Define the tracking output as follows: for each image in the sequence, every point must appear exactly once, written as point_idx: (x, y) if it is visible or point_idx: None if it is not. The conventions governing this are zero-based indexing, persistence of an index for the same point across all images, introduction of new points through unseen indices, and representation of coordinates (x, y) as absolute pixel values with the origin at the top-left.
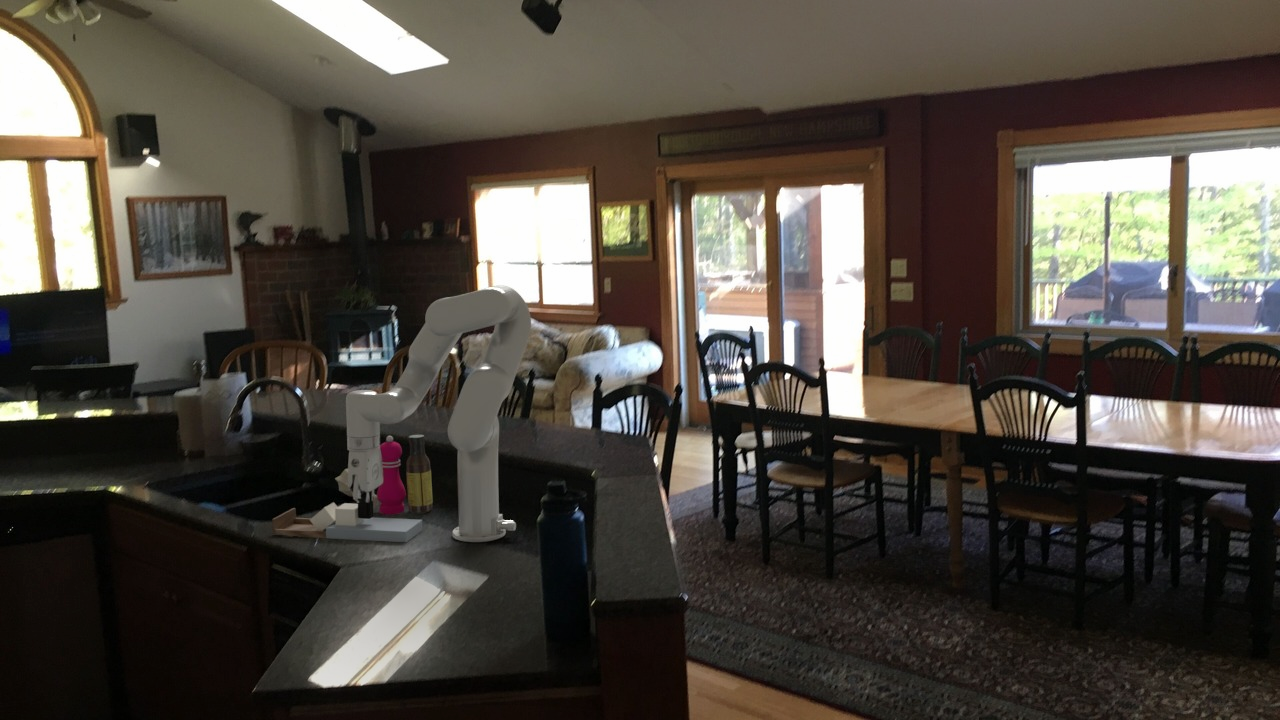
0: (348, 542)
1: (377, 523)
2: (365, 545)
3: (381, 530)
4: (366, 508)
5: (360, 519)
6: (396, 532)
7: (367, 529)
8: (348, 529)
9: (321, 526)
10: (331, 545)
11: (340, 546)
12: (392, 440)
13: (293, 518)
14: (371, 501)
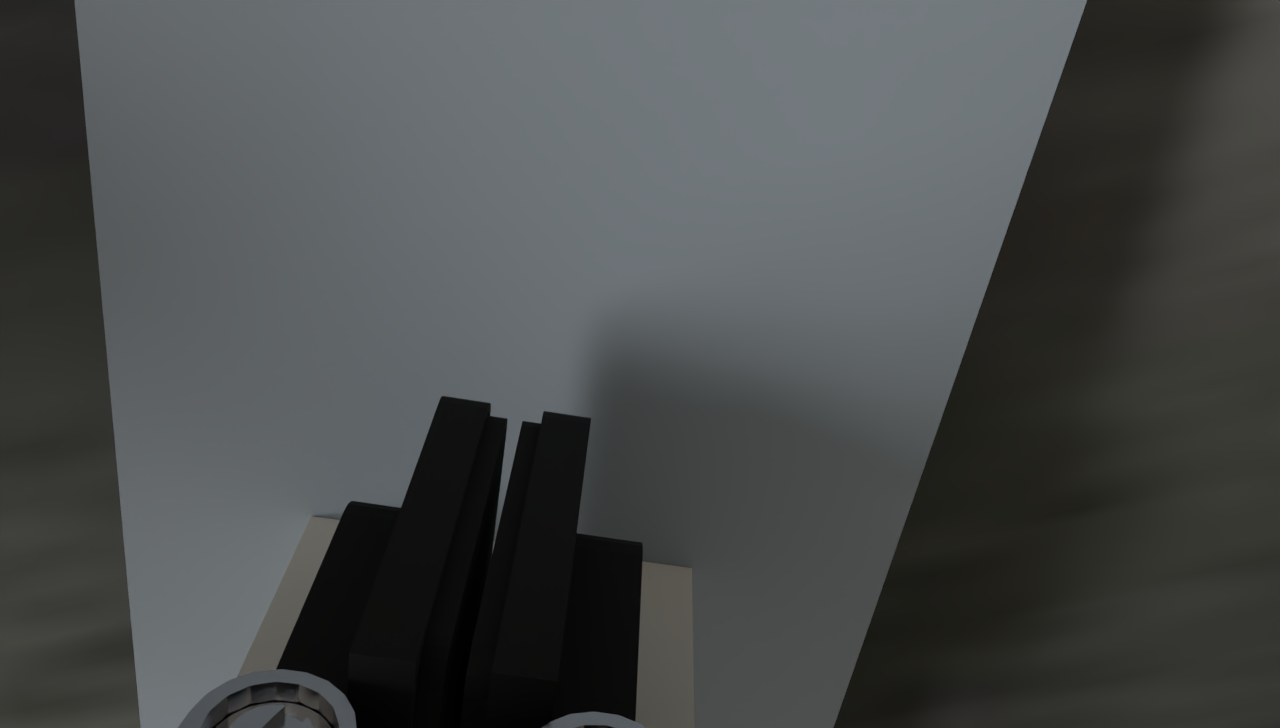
0: (1000, 481)
1: (513, 237)
2: (1230, 197)
3: (1076, 13)
4: (616, 641)
5: None
6: None
7: (947, 325)
8: (864, 619)
9: None
10: (1106, 644)
11: (1185, 535)
12: None
13: None
14: (412, 678)
